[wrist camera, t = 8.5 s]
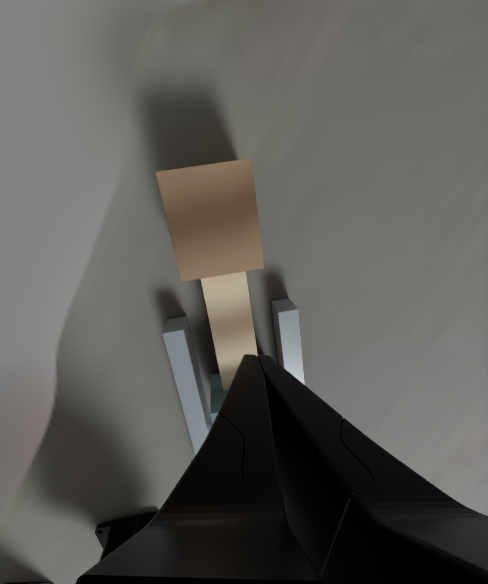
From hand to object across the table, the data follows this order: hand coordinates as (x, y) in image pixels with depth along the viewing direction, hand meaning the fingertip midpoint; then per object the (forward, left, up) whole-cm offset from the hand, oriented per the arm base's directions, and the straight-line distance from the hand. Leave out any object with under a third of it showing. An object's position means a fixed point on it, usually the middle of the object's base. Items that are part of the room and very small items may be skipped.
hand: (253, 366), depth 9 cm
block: (+4, +1, -13) cm, 14 cm away
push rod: (-5, +1, -12) cm, 13 cm away
